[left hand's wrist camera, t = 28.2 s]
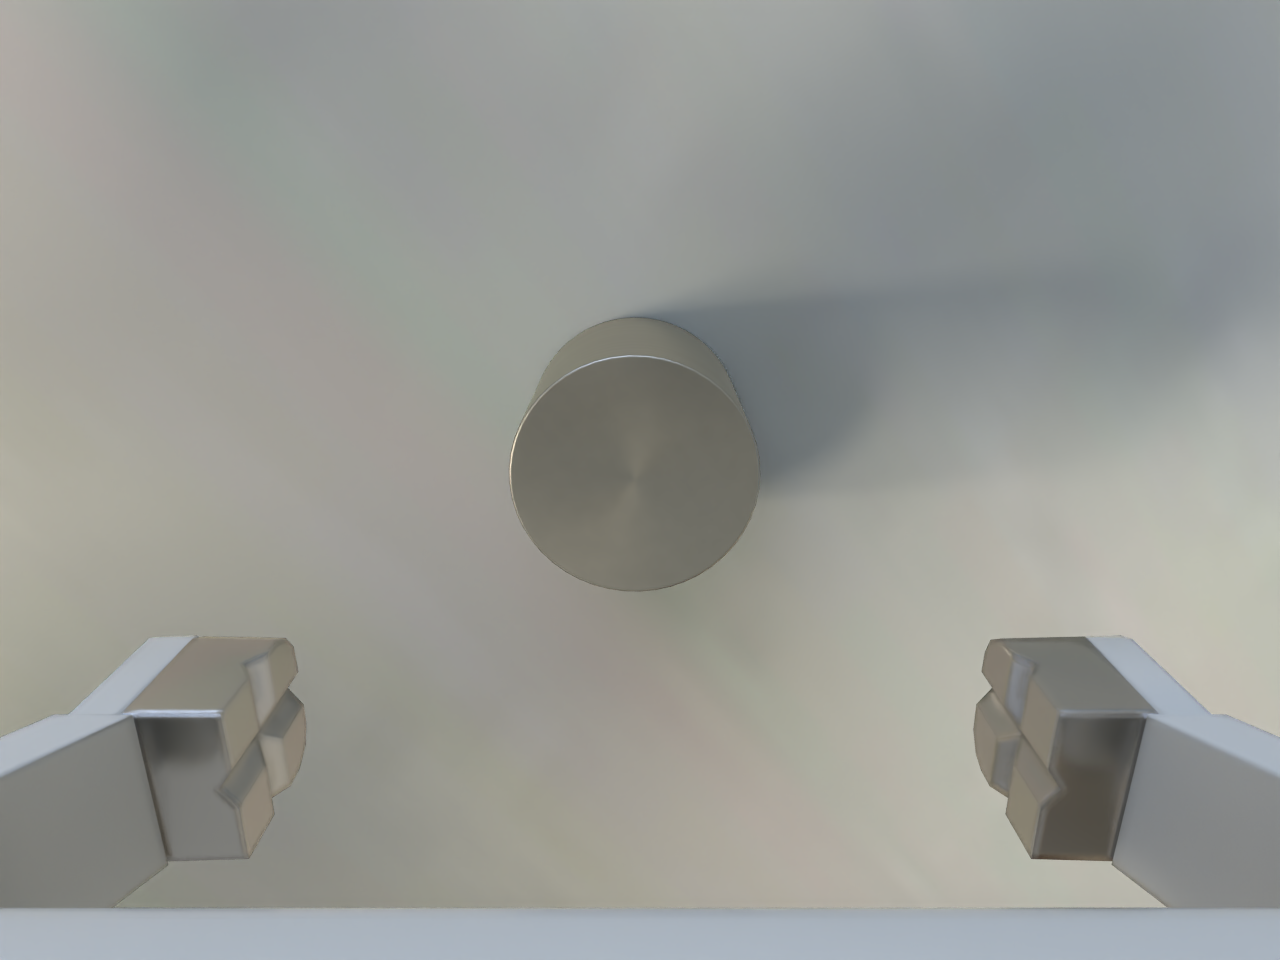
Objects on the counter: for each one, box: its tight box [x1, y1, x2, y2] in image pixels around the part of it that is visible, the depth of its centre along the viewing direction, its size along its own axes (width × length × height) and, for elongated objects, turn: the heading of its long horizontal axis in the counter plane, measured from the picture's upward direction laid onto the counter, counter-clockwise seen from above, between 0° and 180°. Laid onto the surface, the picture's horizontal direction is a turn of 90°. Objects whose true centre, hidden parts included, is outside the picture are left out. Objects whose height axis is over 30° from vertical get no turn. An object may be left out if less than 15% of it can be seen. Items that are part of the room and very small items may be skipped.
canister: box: [509, 318, 760, 591], centre depth 19 cm, size 5×5×4 cm
